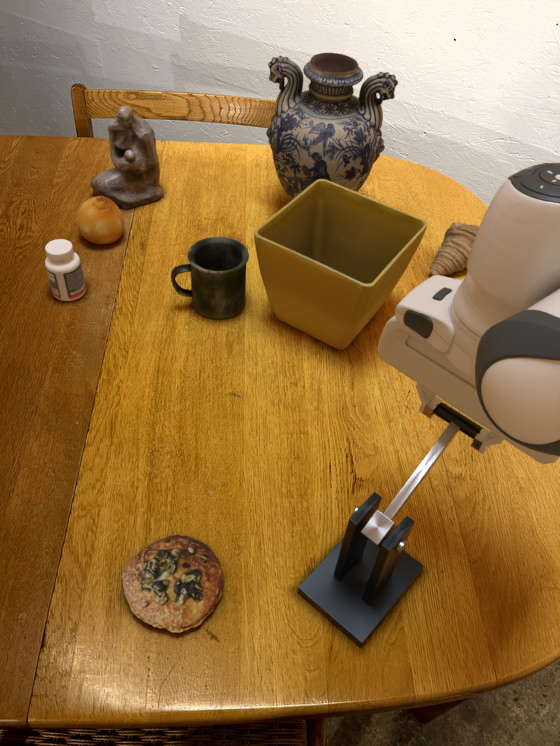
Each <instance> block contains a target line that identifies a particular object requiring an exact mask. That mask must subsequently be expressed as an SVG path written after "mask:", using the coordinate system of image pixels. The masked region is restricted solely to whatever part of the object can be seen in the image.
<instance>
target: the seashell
mask: <svg viewBox="0 0 560 746" xmlns="http://www.w3.org/2000/svg"><path fill="white" fill-rule="evenodd" d="M479 226H480V225H475V224H468V223H466V222H461V221H455V222H453V223H451V224H450V226H449V227H448V228H447V229H446V231H445V233H444V237H443V240H442V242H441V243H440V244H441V245H440V247H439V248H438V250H437V252H436V254H435V256H434V259H433V261H432V263H431V266H430V267H429V273H430V275H431V277H432V276H434V275H440V276H446V275H451V274H453V273H457V272H462V271H463V270H464V269H467V261H468V256H469V253H470V250H471V247H472V244H473V241H474V239H475V236H476V234H477V231H478V229H479Z"/></svg>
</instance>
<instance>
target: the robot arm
mask: <svg viewBox="0 0 560 746" xmlns="http://www.w3.org/2000/svg"><path fill="white" fill-rule="evenodd" d="M478 226H479V229H478V231H477V234H476V236H475V239H474V241H473V244H472V247H471V250H470V253H469V256H468V261H467V268H466V276H465V278H464V279H463V280H461V279H457V278H454V277H453V278H452V277H448V276H446V275H444V276H440V275H434V276H432V275H431V276H429V277H428V278H426V279H425V280H423V281H422V282H421V283H419V284H418V285H416V286H415V287H414V288H412V289H411V290H410V291H409V292H408V293H407V294H406V295H405V296H403V298H402V299H401V300H400V301H399V302H398V303H397V304H396V306H395V310H394V315H392V316H391V317H390V319H388V320H387V322H386V323H385V325H384V327H383V329H382V331H381V334H380V337H379V340H378V343H377V352H378V354H379V357H380V359H381V360H382V361H383V362H384V363H386V364H387V365H389V366H391V367H392V368H393V369H395V370H397V371H398V372H400V373H401V374H403V375H404V376H406V377H408V378H409V379H411V381H413V382H415V383H416V385H415V388H416V392H417V395H418V397H419V400H420V402H421V403H420V406H419V409H418V412H419V413H421V414H422V415H424V416H425V417H427V418H428V419H432V418H433V417H434V415H435V411H436V409H437V407H438V406H439V405H440V404H441V403H442V402H446V404H449V406H451V407H452V408H455V410H456V409H457V411H460V413H462V414H463V415H466V417H468V418H469V419H471V420H472V421H474V422H475V423H477V424H478V425H480V426H481V427H483V429H482V430H481V431H480V432H479V434H477V435H476V436H475V438H474V440H473V439H472V442H471V444H470V447H471V448H473V449H474V450H476V451H477V452H478V453H480V454H481V455H484V454H485V453H486V452H487V451H488V450H489V448H490V447H491V446H496V445H499V444H502V443H503V441H505V442H507V443H508V444H510V445H512V446H514V447H515V448H516V449H517V450H519V451H521V452H522V453H524V454H525V455H527V456H528V457H529V458H532V460H534V461H536V462H538V463H539V464H541V465H549V464H555V463H557V461H558V460H559V459H560V162H542V163H538V164H534V165H530V166H528V167H526V168H523V169H521V170H519V171H517V172H515V173H513V174H511V175H510V176H508V177H507V178H506V179H505V180H504V181H503V182H502V184H501V185H500V186H499V188H498V189H497V191H496V192H495V194H494V196H493V197H492V200H491V202H490V203H489V205H488V207H487V209H486V211H485V213H484V215H483V218H482V220H481V222H480V224H479V225H478ZM435 416H436V415H435Z"/></svg>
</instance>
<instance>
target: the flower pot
mask: <svg viewBox="0 0 560 746" xmlns="http://www.w3.org/2000/svg"><path fill="white" fill-rule="evenodd" d="M428 225H429V224H428V222H427V220H425V219H423V218H421V217H418V216H416V215H413V214H411V213H409V212H407V211H404V210H401V209H399V208H396V207H394V206H391V205H389V204H387V203H384V202H381V201H380V200H377V199H375V198H372V197H369V196H367V195H365V194H363V193H360V192H359V191H358V192H355V191H353V190H350V189H348V188H346V187H343V186H341V185H338V184H336V183H333V182H331V181H329V180H325V179H318V180H316V181H315V182H314V183H312V184H311V185H310V186H309V187H308V188H306V189H305V190H304V191H303V192H302V193H300V194H299V195H298V196H297V197H295V198H294V199H293V200H292V201H291V200H290V201H289V202H288V203H286V204H285V205H283V207H282V208H280V209H279V210H278V211H277V212H275V213H274V214H273V215H271V216H270V217H269V218H268V219H267V220H265V221H264V222H263V223H262V224H260V225H259V226H258V227H256V228H255V230H254V231H253V238H254V247H255V253H256V258H257V263H258V269H259V272H260V276H261V280H262V283H263V286H264V290H265V293H266V295H267V298H268V301H269V304H270V306H271V308H272V311H273V313H274V315H275V316H276V319H278V320H279V321H281V322H283V323H285V324H287V325H289V326H291V327H293V328H295V329H297V330H299V331H301V332H303V333H304V334H307V335H309V336H310V337H313V338H315V339H316V340H318V341H320V342H323V343H324V344H326V345H329V346H331V347H332V348H334V349H336V350H340V351H342V350H345V349H347V348H348V347H349V346H350V344H351V343H352V342H353V341H354V339H355V338H356V337H357V336H358V335H359V334H360V333H361V332H362V330H363V329H364V328H365V327H366V326H367V325H368V323H369V322H370V321H371V320H372V319H373V318H374V316H376V314H377V313H378V312H379V311H380V309H382V307H383V305H384V304H385V303H386V301H387V300H388V299H389V297H390V295H391V293H393V291H394V289H395V288H396V286H397V285H398V283H399V282H400V280H401V278H403V275H404V274H405V271H406V270H407V269H408V267H409V265H410V263H411V261H412V260H413V257H414V256H415V254H416V251H417V250H418V249H419V245H420V243H421V241H422V239H423V238H424V236H425V233H426V231H427V229H428Z"/></svg>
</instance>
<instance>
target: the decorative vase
mask: <svg viewBox="0 0 560 746" xmlns="http://www.w3.org/2000/svg"><path fill="white" fill-rule="evenodd" d="M267 67H268V68H269V76H268V81H270V82H272V83H273V84H278V89H279V93H278V94H277V97H276V99H275V104H274V113H275V114H274V115H272V116H271V121H270V124H269V125H268V127H267V130H266V131H265V132H266V137H267V138H268V143H269V145H270V149H271V154H272V161H273V165H274V168H275V172H276V174H277V179H278V180H279V183H280V185H281V187H282V189H283V191H284V192H285V194H286V195H287V196H288V198H289V199H290V201H292V200H293V199H294V198H295V197H297V196H298V195H299V194H300V193H302V192H303V191H304V190H305V189H306V188H308V187H309V186H310V185H311V184H312V183H314V182H315V181H316V180H318V179H325V180H329V181H331V182H333V183H336V184H338V185H341V186H343V187H346V188H348V189H350V190H353V191H355V192H358V193H359V191H360V190H361V188H362V187H363V186H364V184H365V182H366V181H367V179H368V178H369V176H370V173H371V172H372V169H373V167H374V164H375V163H376V162H377V160H378V159H379V158H380V156H381V153H383V151H384V150H385V148H386V146H385V145H384V144H385V141H384V139H383V138H382V137H383V133H382V130H381V128H382V126H383V121H384V111H383V107H382V104H383V102H384V101H389V100H393V99H395V97H396V95H395V92H396V87H397V86H398V85H399V81H398V79H397V77H396V74H391V73H390V72H388V71H386V72H384V71H379V72H378V73H376V74H374V75H371V76H369V77H367V78H366V79H365V80H364V81H363V79H364V72H363V69H362V68H361V67H360V65H359V63H358V61H357V60H356V59H354V58H353V57H351V56H349V55H346V54H343V53H338V52H321V53H317V54H314V55H313V56H312V57H311V58H310V60H309V61H307V63H305V64H304V66H303V69H301V68H300V66H299V65H298V63H296V62H295V61H292V60H291V59H290V58H289V56H282V55H279V56H278V57H275V56H273V57H272V58H271V60H270V61H269V62H268V63H267ZM304 76H305V77H306V78H307V79H308V80H309V81H310V82H309V83H308V90H304V91H303V88H304ZM285 78H286V79H287V82H286V79H285ZM362 81H363V82H362ZM361 82H362V84H361V87H360V90H359V94H358V96H356V95H355V94H354V93H355V90H354V86H355V85H357V84H359V83H361ZM378 96H379V98H378Z"/></svg>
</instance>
